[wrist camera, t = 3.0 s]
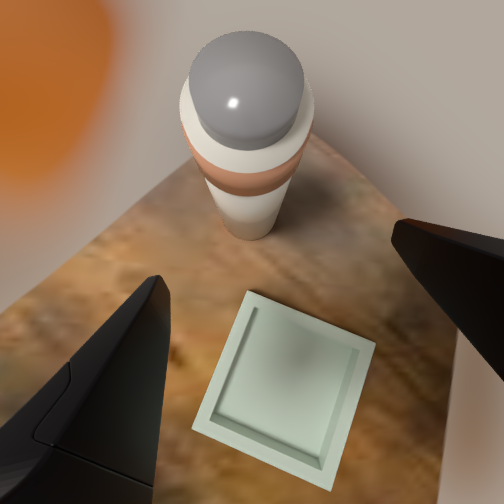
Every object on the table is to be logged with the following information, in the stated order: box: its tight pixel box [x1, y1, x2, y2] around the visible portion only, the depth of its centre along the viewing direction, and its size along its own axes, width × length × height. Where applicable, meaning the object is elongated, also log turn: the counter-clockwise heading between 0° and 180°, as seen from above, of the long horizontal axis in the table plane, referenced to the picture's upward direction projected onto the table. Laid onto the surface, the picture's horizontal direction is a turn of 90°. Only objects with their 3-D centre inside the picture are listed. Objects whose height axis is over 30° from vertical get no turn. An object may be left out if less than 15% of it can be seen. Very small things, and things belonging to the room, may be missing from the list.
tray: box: [192, 290, 376, 492], centre depth 18 cm, size 11×11×2 cm
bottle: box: [180, 31, 314, 241], centre depth 14 cm, size 5×5×14 cm
